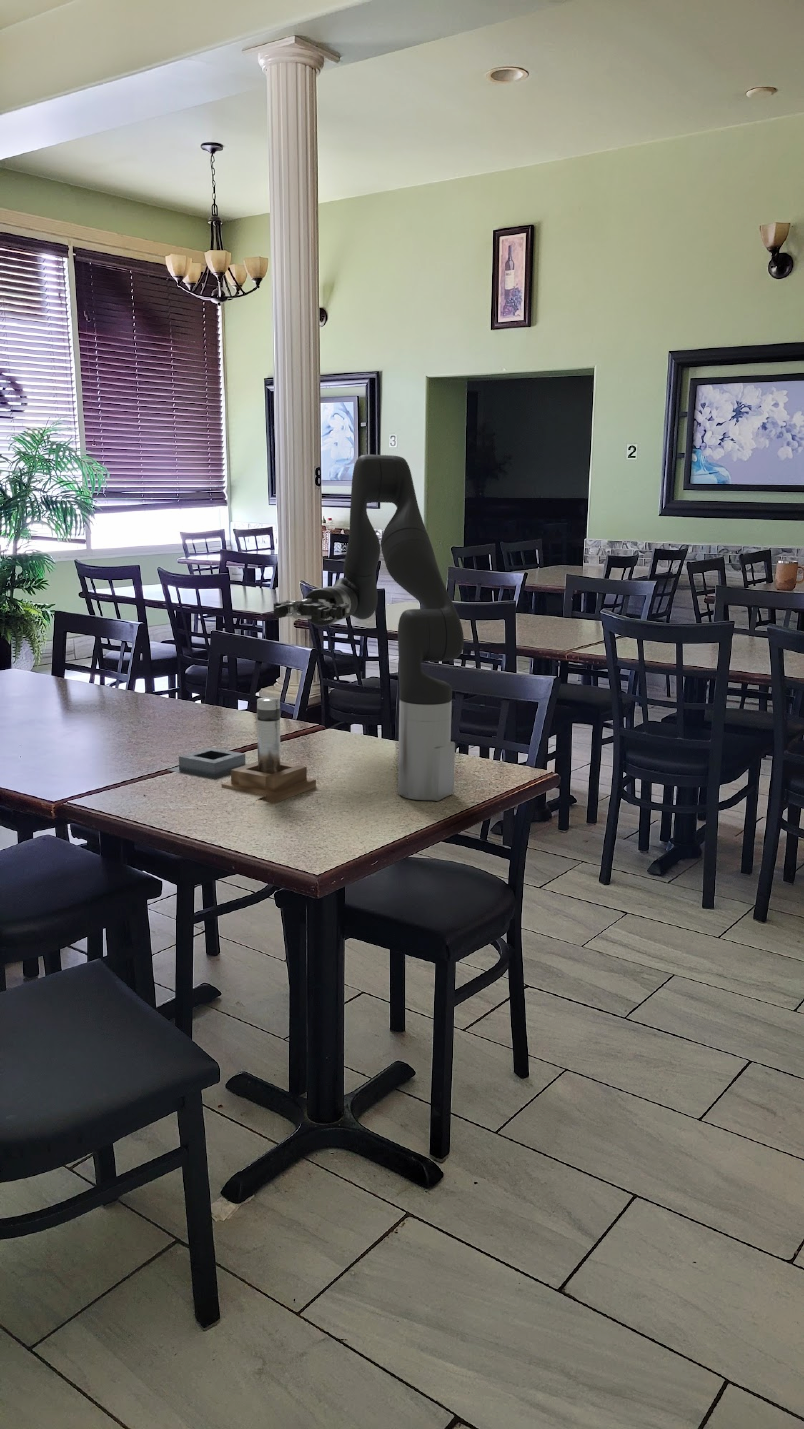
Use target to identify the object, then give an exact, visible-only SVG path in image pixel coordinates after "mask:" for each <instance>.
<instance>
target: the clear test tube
mask: <svg viewBox="0 0 804 1429" xmlns="http://www.w3.org/2000/svg"><path fill="white" fill-rule="evenodd" d="M256 702H257V703H256V719H257V721H256V722H257V726H256V727H257V761H258V772H262V773H268V774H274V773H277V772H280V762H281V698H279V697H259V698H257V699H256Z"/></svg>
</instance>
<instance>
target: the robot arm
mask: <svg viewBox="0 0 804 1429" xmlns="http://www.w3.org/2000/svg"><path fill="white" fill-rule="evenodd" d="M352 470H353V471H352V478H351V491H350V492H351V493H350V504H349V505H350V509H349V532H348V533H349V534H348V542H347V547H346V548H347V549H346V553H345V558H344V563H343V570H342V571H343V575H344V577H340V578H338V579H337V580H336V581H335V582H334V584H333V586H324V587H320V588H316V589H313V590H311V591H309V592H308V593H307V594H306V596H305V597H304V598H303V599H299V600H297V599H296V600H289V599H288V600H287V599H286V600H284V601H278V602H273V616H275V618H276V619H281V618H286V617H289V618H291V619H297V620H298V619H304V620H308V622H310V624H312V625H313V626H314V625H315V626H317V627H326V626H329V625H332V624H336V623H338V622H340V621H341V620H344V619H346V618H348V617H350V616H351V617H355V618H357V619H359V620H367V619H369V618H370V617H372V616H373V615H374V614H375V612H376V610H377V606H378V603H379V602H378V601H379V600H378V599H379V595H378V585H377V575H376V574H377V569H378V565H379V561H380V556H381V553H382V557H383V561H384V563H385V566H386V567H385V568H386V570H387V572H388V574H389V575H390V577H391V578H392V579H393V581H395V582H396V584H397V585H398V586H400V587H401V589H403V590H404V591H405V592H407V593H408V594H409V595H411V596H412V597H413V598H414V599H416V600H417V601H418V602H419V603H420V604H421V605H422V606H423V608H412V609H406V610H404V611H402V613H401V614H400V617H399V620H398V624H397V648H398V650H397V651H398V685H399V705H398V706H399V707H398V708H399V714H398V715H399V716H398V765H397V768H398V771H397V773H398V776H397V777H398V779H397V785H398V786H397V791H398V792H397V794H398V795H399V796H401V797H403V798H405V799H410V800H416V801H437V802H439V801H441V800H442V799H445V798H447V797H449V796H451V795H453V794H454V792H455V791H454V790H455V762H456V757H455V756H456V743H455V742H454V741H451V736H452V733H451V732H452V703H453V702H452V701H453V700H452V698H453V689H452V685H450V684H449V683H448V682H446V681H444V680H441V679H438V678H435V677H433V676H430V675H428V674H427V673H425V672H424V671H423V667H422V663H431V662H432V663H433V662H435V663H436V662H437V663H438V662H447V661H453V660H456V659H458V658H459V657H460V656H461V654H462V653H463V650H464V642H465V639H464V638H465V637H464V631H463V626H462V622H461V619H460V616H459V614H458V612H457V609H456V607H455V604H454V602H453V600H452V598H451V596H450V594H449V592H448V589H447V587H446V585H445V583H444V581H443V578H442V575H441V572H440V570H439V566H438V563H437V558H436V556H435V552H434V549H433V548H434V547H433V545H432V542H431V539H430V536H429V534H428V531H427V529H426V526H425V524H424V521H423V517H422V514H421V511H420V508H419V503H418V499H417V494H416V490H415V485H414V480H413V476H412V475H413V474H412V472H411V468H410V466H409V464H408V462H407V460H406V459H405V458H404V457H402V456H400V455H399V456H398V455H388V454H362V455H360V456H358V457H357V459H356V461H355V463H354V466H353V469H352ZM368 503H385V504H389V503H391V504H393V505H395V507H396V510H395V513H393V515H392V517H391V518H390V520H389V522H388V523H387V525H386V526H385V528H384V530H383V533H382V535H381V539H379V536H378V534H377V533H376V530H375V529H374V526H373V525H372V523H371V520H370V518H369V516H368V512H367V509H368V508H367V505H368Z"/></svg>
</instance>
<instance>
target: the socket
mask: <svg viewBox="0 0 804 1429" xmlns="http://www.w3.org/2000/svg"><path fill="white" fill-rule="evenodd" d="M248 764H249V763H246V753H243V752H238V751H234V750H233V751H232V750H226V749H221V748H214V747H207V748H204V749H200V750H196V751H193V752H190V753H186V754H183V755H179V756H178V766H175V767H172V768H168V769H167V771H170V772H174V773H179V774H184V775H189V776H194V777H199V778H204V779H209V780H215V781H216V780H219V779H223V778H226V777H228V776H231V770H232V769H235V768H238V767H242V766H245V765H248Z"/></svg>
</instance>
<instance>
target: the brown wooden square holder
mask: <svg viewBox="0 0 804 1429" xmlns="http://www.w3.org/2000/svg"><path fill="white" fill-rule="evenodd" d="M247 764H248V765H245V766H242V767H238V768H235V769H232V770H231V775H230V780H229V781H227V782H223V783H221V788H224V789H225V788H226V789H231V790H236V791H240V792H244V793H249V794H255V795H259V796H262V797H259V798H257V800H259V801H263V802H269V803H272V804H276V803H279V802H282V801H284V800H287V799H290V798H292V797H294V796H297V795H300V794H302V793H305V792H308V791H310V790H313V789H315V788H316V789H317V779H316V778H311V777H308V776H307V775H308V771H307V770H308V767H307V765H301V764H300V765H299V764H295V763H290V762H284V761H280V772H277V773H274V774H268V773H262V772H258V760H257V761H254V762H250V763H247Z"/></svg>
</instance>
